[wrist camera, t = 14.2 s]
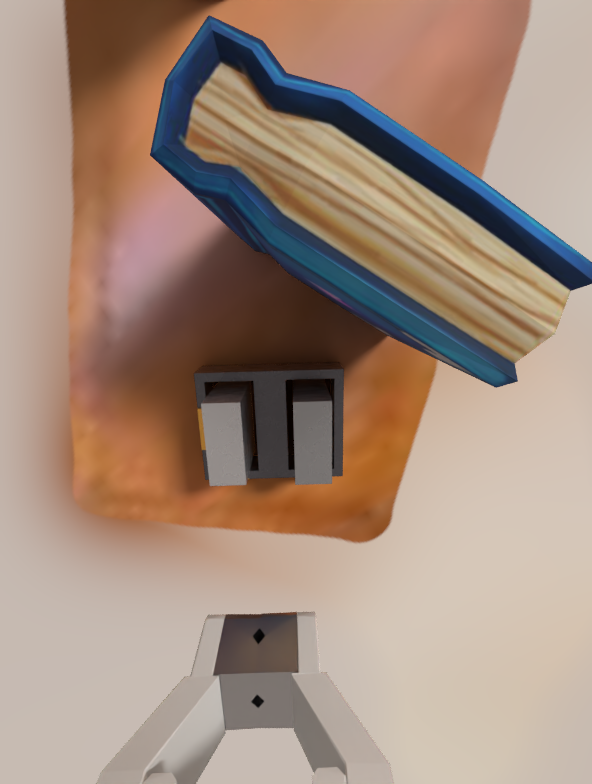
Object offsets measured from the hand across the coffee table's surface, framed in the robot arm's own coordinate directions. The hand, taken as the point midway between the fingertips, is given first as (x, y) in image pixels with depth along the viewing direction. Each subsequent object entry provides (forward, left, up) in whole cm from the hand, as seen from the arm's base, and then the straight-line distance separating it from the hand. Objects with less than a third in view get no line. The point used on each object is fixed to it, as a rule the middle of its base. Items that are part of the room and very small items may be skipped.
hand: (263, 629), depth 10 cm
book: (-12, +5, -34) cm, 37 cm away
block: (+6, -6, -34) cm, 35 cm away
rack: (+6, -2, -34) cm, 35 cm away
